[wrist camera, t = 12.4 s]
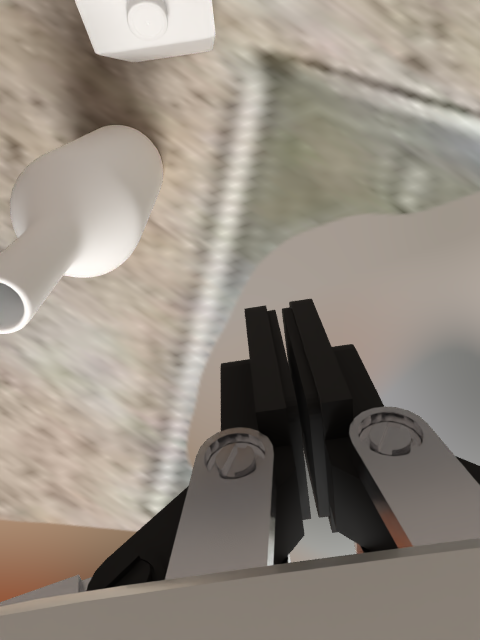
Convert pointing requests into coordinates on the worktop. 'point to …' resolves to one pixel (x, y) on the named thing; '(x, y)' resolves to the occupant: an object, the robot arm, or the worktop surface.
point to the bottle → (76, 216)
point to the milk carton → (148, 27)
